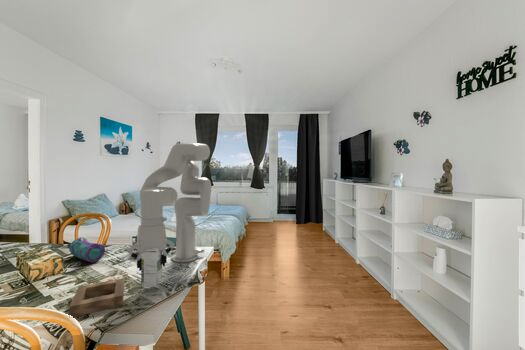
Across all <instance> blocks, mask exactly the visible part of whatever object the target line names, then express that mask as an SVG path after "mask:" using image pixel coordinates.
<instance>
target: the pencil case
mask: <svg viewBox="0 0 525 350" xmlns="http://www.w3.org/2000/svg"><path fill="white" fill-rule="evenodd" d="M66 248H67V249H68V250H69V252H70V253H71V255H73V256H74V257H76V258H78V259H80V260H83V261H86V262H89V263H96V262H98V261H99V260H101V259H102V257H104V255H105V253H106V248H105V246H104V245H103V244H101V243H97V242H90V241H88V239H87V238H86V237H82V236H80V237H78V238H76V239H74V240H72V241H71V243H67V247H66Z"/></svg>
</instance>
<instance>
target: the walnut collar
mask: <svg viewBox="0 0 525 350" xmlns="http://www.w3.org/2000/svg"><path fill="white" fill-rule="evenodd" d="M124 292H125V278H123V277H122V278H117V279H113V280H112V279H111V280H107V281H102V282H97V283H90V284H89V283H88V284H85V285H79V286H78V287H77V290H76V291H75V293H74V296H73V298H72V301H71V303H70V305H69V316H70V315H71V316H73V317H72V318H75V317H80V316H85V315H88V314H89V315H90V314H94V313H98V312H102V311H106V310H110V309H114V308H119V307H122V306H124V294H125V293H124ZM106 294H108V295H106ZM92 297H93V298H92Z"/></svg>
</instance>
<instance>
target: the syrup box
mask: <svg viewBox="0 0 525 350" xmlns="http://www.w3.org/2000/svg"><path fill="white" fill-rule="evenodd" d="M162 255H163V253H162V251H159V248H151V249H148V250H146V252H145V253H142V254H141V271H140V275H141V277H140V279H141V280H140V281H141V282H140V283H141V284H140V286H141V288H151V287H152V288H155V287H158V286H159V284H160V282H161V281H162V279H163V265H162Z"/></svg>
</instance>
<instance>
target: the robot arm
mask: <svg viewBox="0 0 525 350" xmlns="http://www.w3.org/2000/svg"><path fill="white" fill-rule="evenodd" d="M210 155H211V150H210V147H209V145H208V144H206V143H195V142H194V143H189V142H188V143H187V142H186V143H184V142H183V143H182V142H181V143H179V142H178V143H175V144H174V145H172V147H171V149H170V151H169V154H168V156H167V158H166V160H165V162H164V165H163V166H161V167H159V168H158V169H156V170H154V172H152V173H151V174H149V176H147V178H146V179H145V181H144V183H143V184H142V186H141V189H140V192H139V200H140V225H138V227H137V235H136V236H137V242H136V243H134V244H132V245H131V246H130V247H129V248H127V253H128V254H129V255H130V257H131V258H133V259H135V260H136V269H139V270H138V271H139V272H141V254H142V253H145V252H146V250H148V249H151V248H159V251H162V268H163V267H166V264H167V263H168V262H167V261H168V260H167V259H168V257H167V256H168V255H169V254H170V252H171V251H172V249H173V248H174V247H175V254H174V255H173V256H172V261H174V262H176V263H190V262H193V261H196V260H197V259H198V258H199V254H202V253H203V254H204V253H205V248H199V247H198V248H196V222H195V219H194V218H193V217H206V216H207V215H208V214H209V211H210V205H211V197H212V196H211V195H212V194H211V193H212V182H211V180H210V179H209V178H207V177H200V176H199V174H200V168H199V166H198V165H197V163H196V162H202V161H207V160H208V159H209V158H210ZM180 176H181V180H180V186H179V188H180V189H179V190H180V193H181V194H182V195H186V196H189V197H185V196H184V197H180V198H178V192H177V190H176V189H175V188H173V187H170V186H160V185H161V184H162V183H164V182H167V181H169V180H173V179H176V178H178V177H180ZM190 196H200V197H190ZM173 204H174V206H173V208H174V215H175V242H174V241H172V240H170V239H168V238H167V233H166V225H165V223H164V222H166V221H167V217H165V216H163V215H164V214H163V213H164V212H163V210H164V209H163V207H165V206H167V207H168V206H171V205H173ZM167 245H169V246H168V247H167ZM135 249H136V251H137V253H136V252H135V251H134V250H135Z"/></svg>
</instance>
